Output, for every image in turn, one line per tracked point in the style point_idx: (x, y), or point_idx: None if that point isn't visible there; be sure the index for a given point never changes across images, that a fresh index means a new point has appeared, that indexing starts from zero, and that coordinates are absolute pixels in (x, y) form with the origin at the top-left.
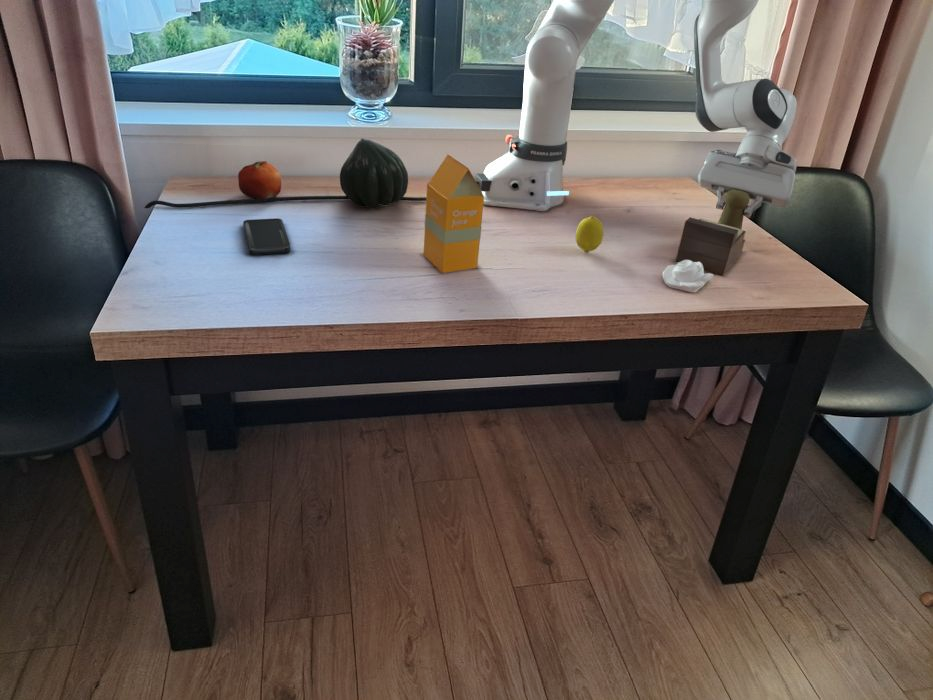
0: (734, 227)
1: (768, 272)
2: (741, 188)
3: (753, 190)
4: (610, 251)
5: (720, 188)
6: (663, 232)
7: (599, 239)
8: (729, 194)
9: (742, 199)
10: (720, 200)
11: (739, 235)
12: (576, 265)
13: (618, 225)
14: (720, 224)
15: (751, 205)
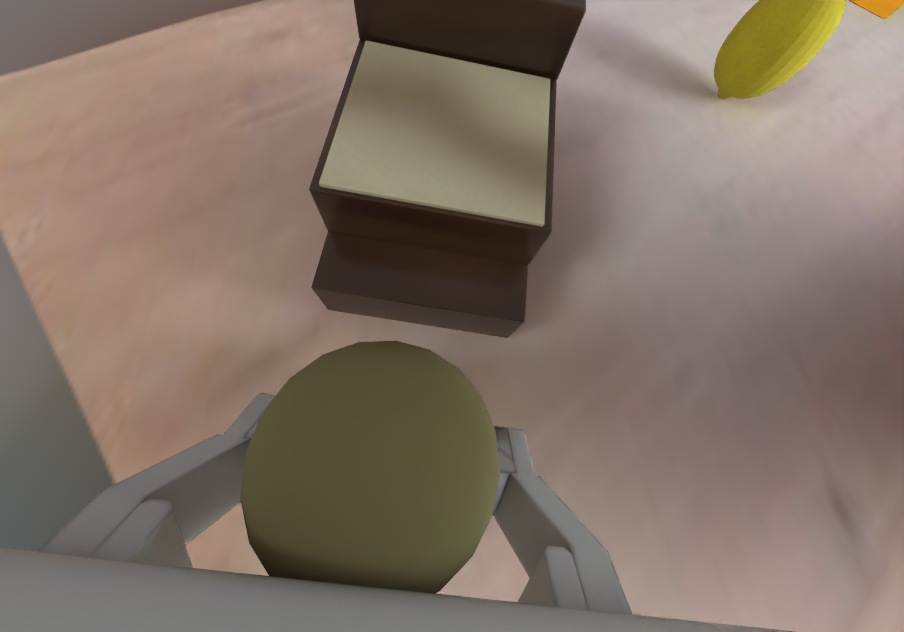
0: (368, 190)
1: (233, 190)
2: (341, 598)
3: (145, 591)
4: (683, 126)
5: (593, 586)
6: (632, 346)
7: (734, 28)
8: (464, 385)
9: (326, 353)
10: (513, 457)
11: (340, 122)
12: (697, 38)
13: (773, 318)
14: (441, 195)
15: (239, 444)
